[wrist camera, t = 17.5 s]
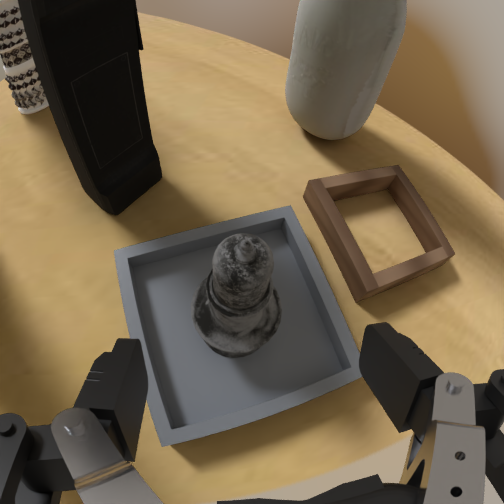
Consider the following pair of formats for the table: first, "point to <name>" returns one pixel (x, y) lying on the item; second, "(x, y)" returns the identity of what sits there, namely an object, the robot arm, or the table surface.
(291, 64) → the glass bottle
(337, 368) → the grey tray
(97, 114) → the portable radio
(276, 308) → the dark grey chess piece
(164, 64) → the table surface
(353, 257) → the walnut collar
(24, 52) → the decorative candle
